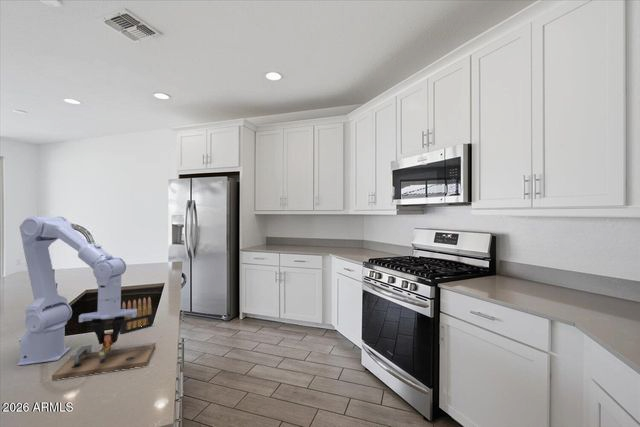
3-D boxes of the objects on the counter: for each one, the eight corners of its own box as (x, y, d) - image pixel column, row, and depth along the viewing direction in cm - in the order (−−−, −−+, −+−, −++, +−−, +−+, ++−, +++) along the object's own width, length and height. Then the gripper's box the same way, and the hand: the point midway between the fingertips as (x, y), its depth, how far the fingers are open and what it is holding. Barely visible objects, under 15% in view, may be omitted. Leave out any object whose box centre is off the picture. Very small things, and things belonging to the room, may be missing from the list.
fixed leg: (70, 367, 79) (70, 357, 79) (81, 356, 85) (82, 346, 85) (80, 366, 80) (81, 355, 80) (91, 354, 86) (91, 344, 86)
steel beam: (69, 360, 83) (69, 355, 83) (72, 357, 84) (72, 352, 84) (150, 349, 90) (150, 344, 90) (151, 347, 92) (151, 342, 92)
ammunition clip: (150, 325, 114) (151, 295, 115) (152, 326, 113) (152, 296, 113) (119, 333, 106) (120, 301, 106) (121, 334, 105) (121, 302, 105)
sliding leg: (95, 363, 81) (96, 341, 81) (104, 352, 87) (105, 332, 87) (107, 361, 82) (107, 340, 82) (115, 350, 88) (115, 330, 88)
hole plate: (51, 381, 75) (52, 375, 75) (74, 358, 87) (75, 353, 87) (146, 366, 83) (146, 361, 83) (155, 347, 95) (155, 342, 95)
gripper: (74, 304, 80) (73, 351, 80) (133, 299, 85) (132, 344, 85) (85, 297, 87) (83, 341, 87) (139, 293, 92) (138, 335, 92)
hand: (108, 342), depth 86 cm, fingers closed on sliding leg, 3 cm apart
